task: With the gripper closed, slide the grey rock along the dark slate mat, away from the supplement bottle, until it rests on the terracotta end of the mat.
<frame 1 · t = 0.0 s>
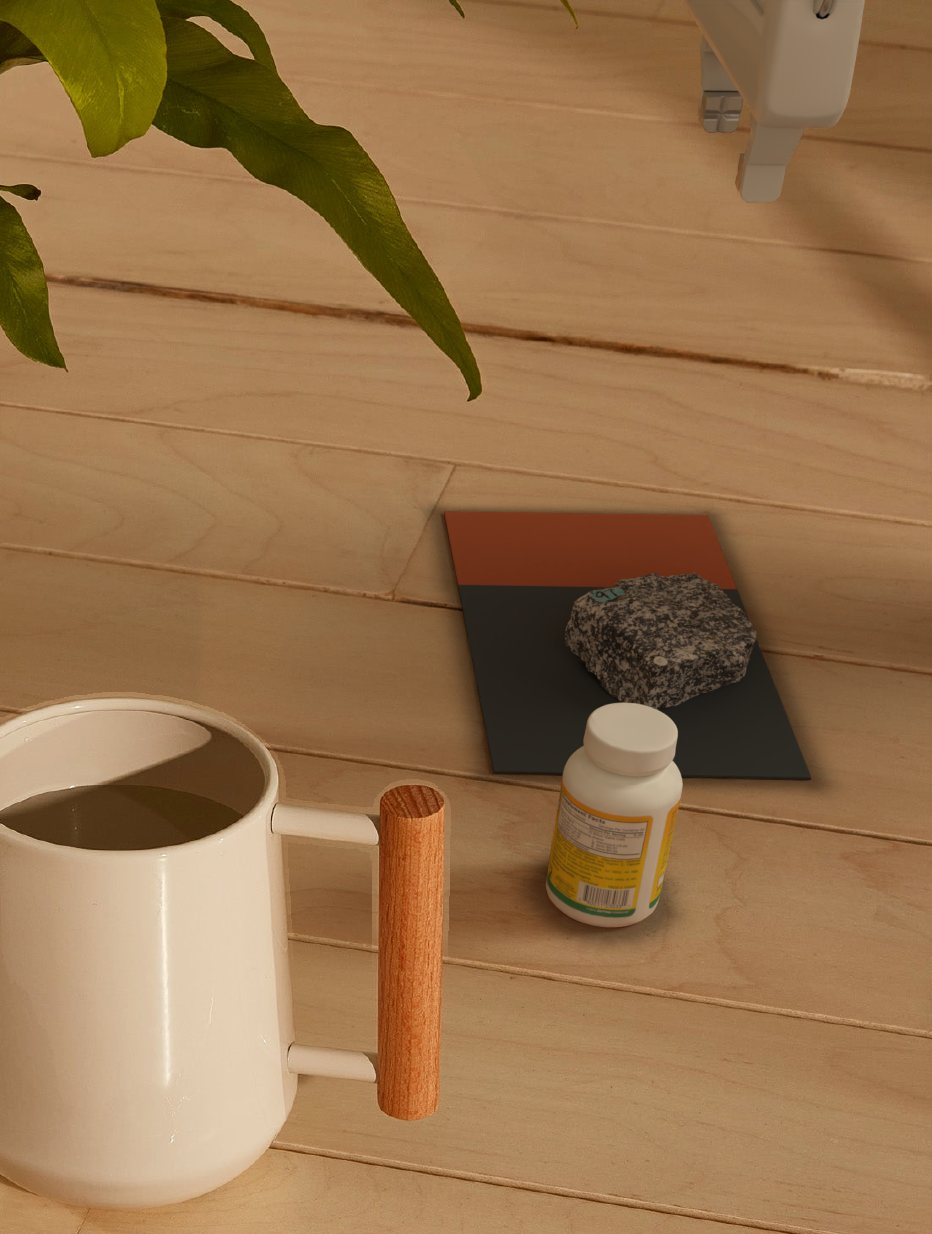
hand: (735, 161, 103), 27 cm above the table, tool pointing down, fingers open, 8 cm apart
supplement bottle: (601, 898, 102), on the table
mat: (610, 633, 121), on the table
rock: (655, 663, 119), resting on mat
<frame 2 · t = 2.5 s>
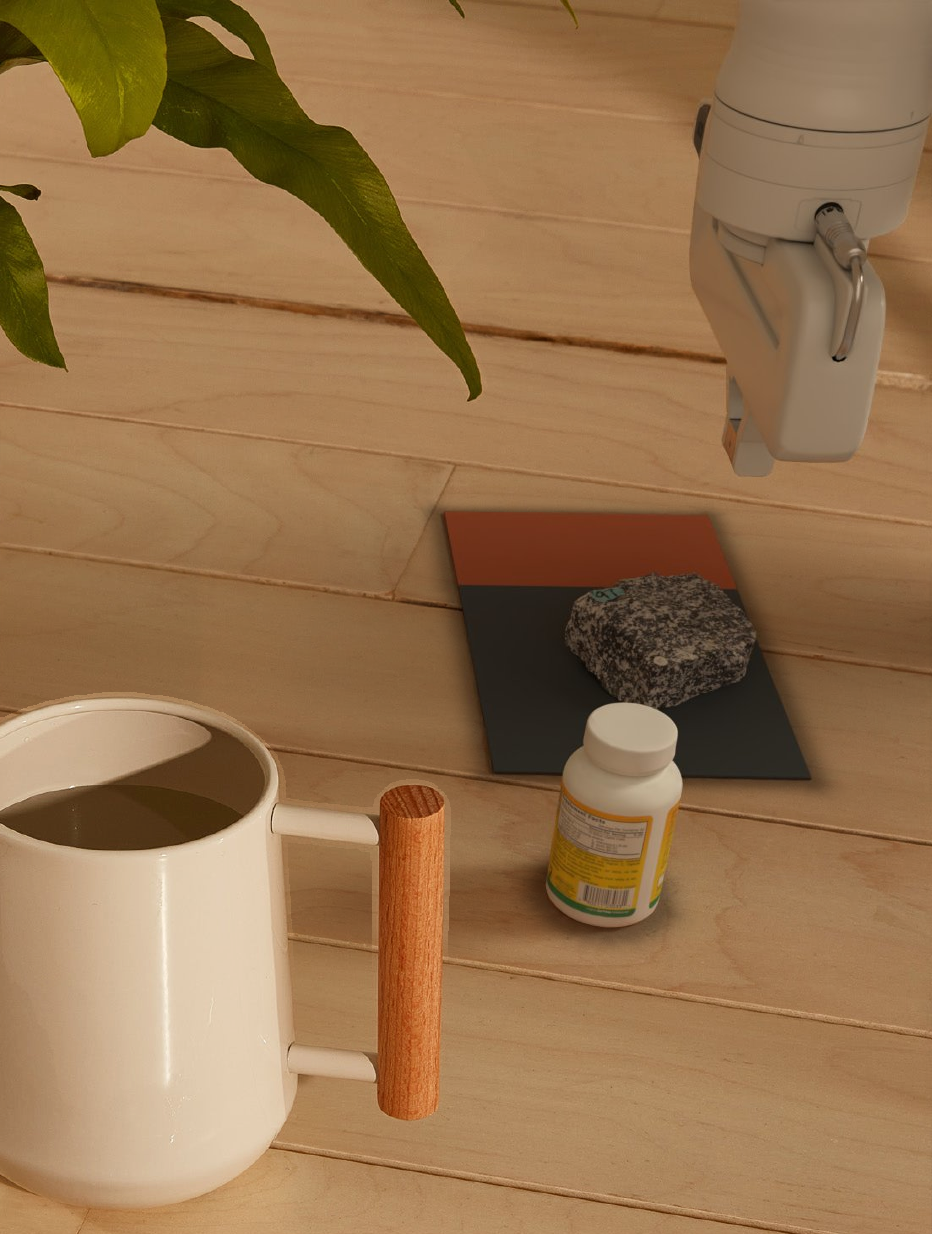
hand: (745, 462, 100), 17 cm above the table, tool pointing down, fingers closed
nothing on the table moved.
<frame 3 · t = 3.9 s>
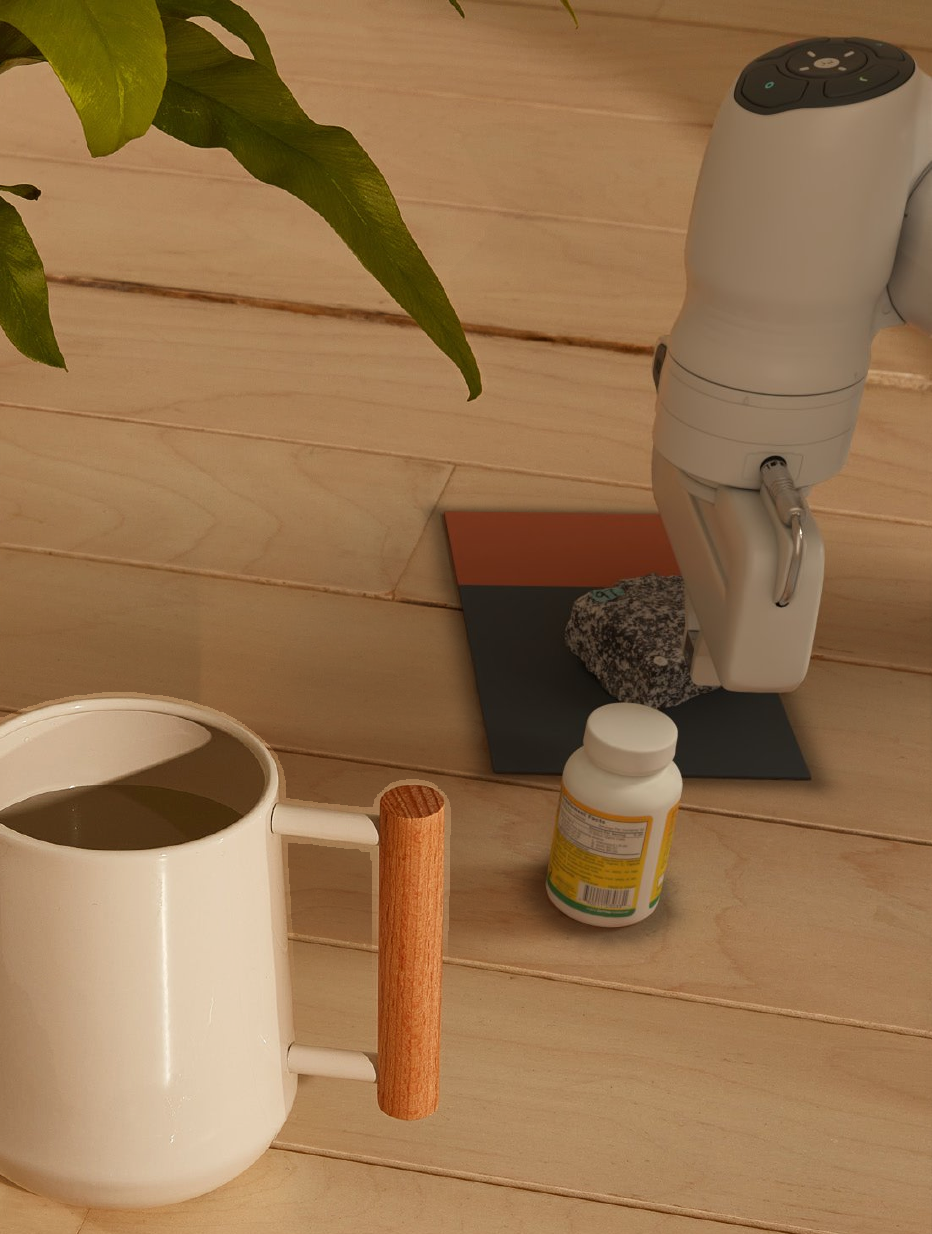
hand: (702, 670, 107), 6 cm above the table, tool pointing down, fingers closed
nothing on the table moved.
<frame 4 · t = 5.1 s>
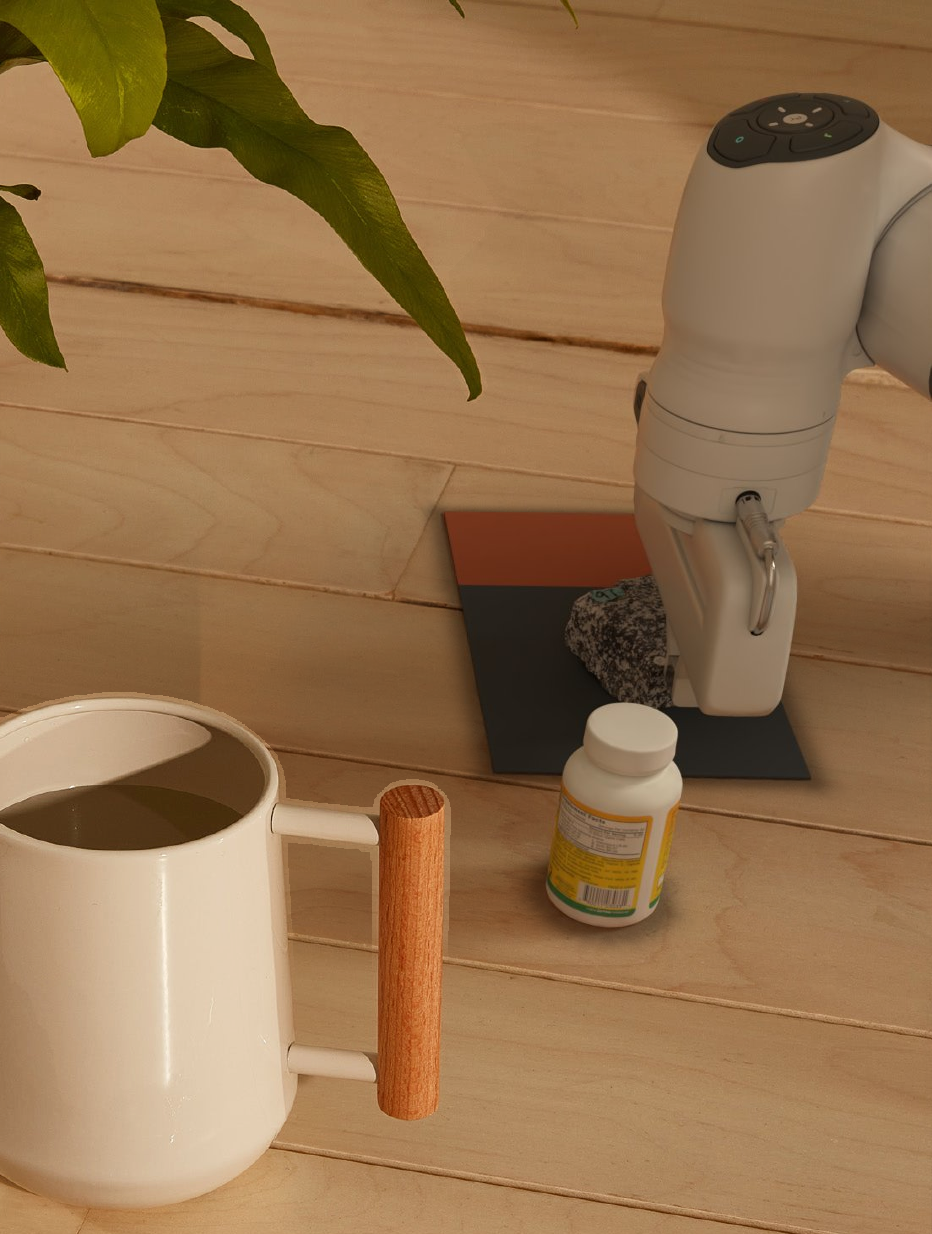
hand: (683, 693, 112), 2 cm above the table, tool pointing down, fingers closed
rock: (655, 663, 119), resting on mat, touching gripper
everything else where it was.
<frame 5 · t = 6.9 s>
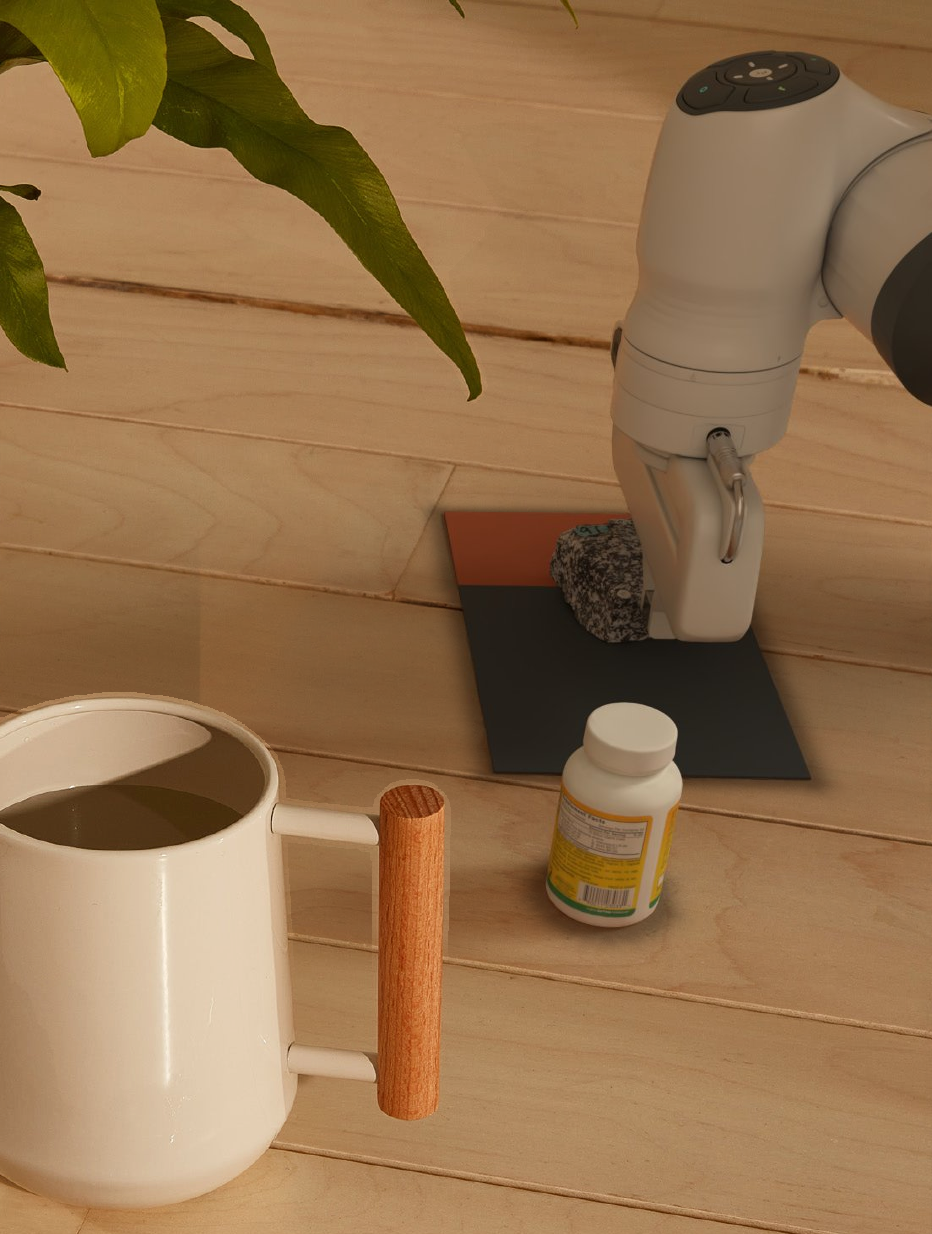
hand: (659, 626, 118), 2 cm above the table, tool pointing down, fingers closed
rock: (636, 602, 124), resting on mat, touching gripper
everything else where it was.
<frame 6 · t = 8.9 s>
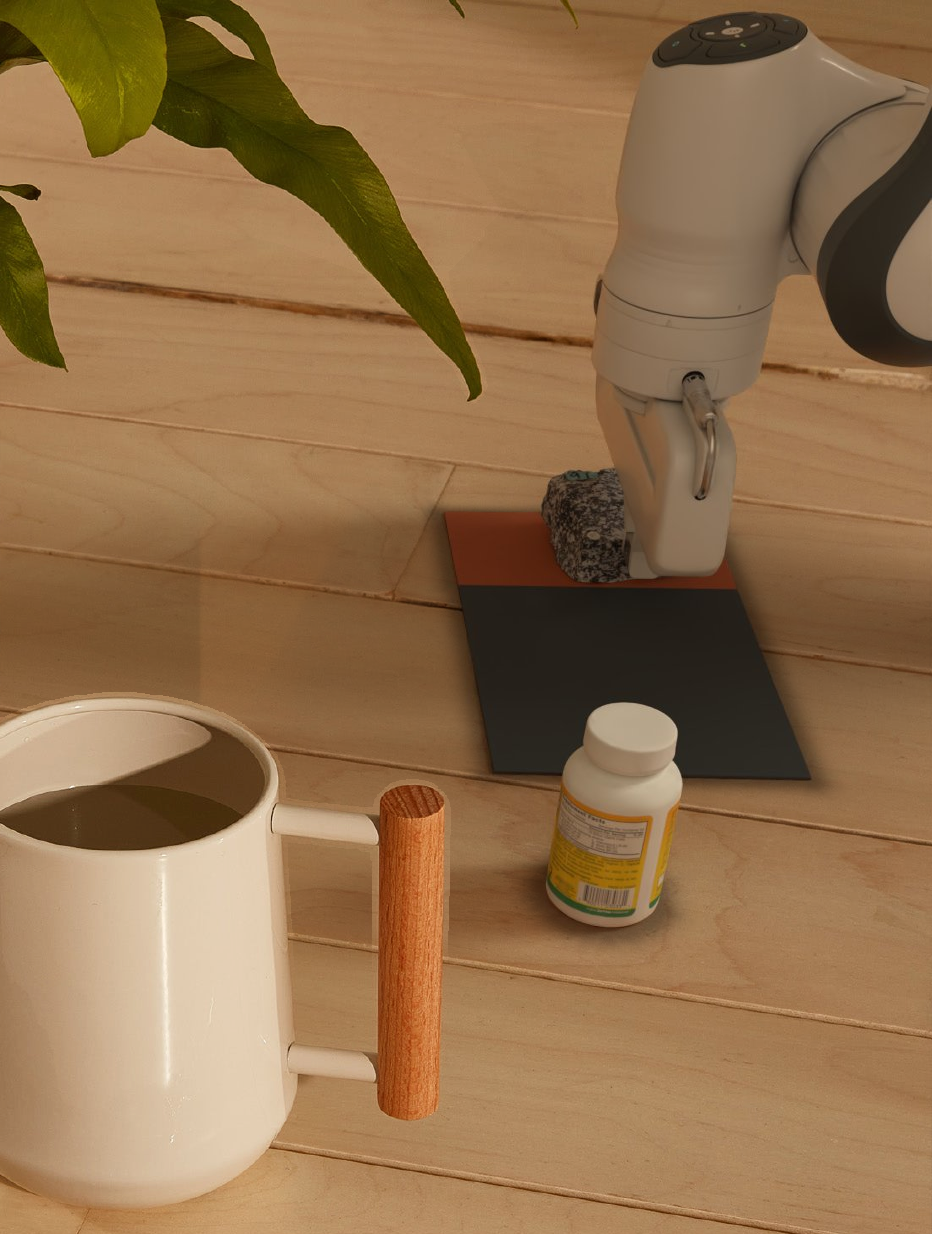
hand: (639, 567, 123), 2 cm above the table, tool pointing down, fingers closed
rock: (623, 549, 129), resting on mat, touching gripper
everything else where it was.
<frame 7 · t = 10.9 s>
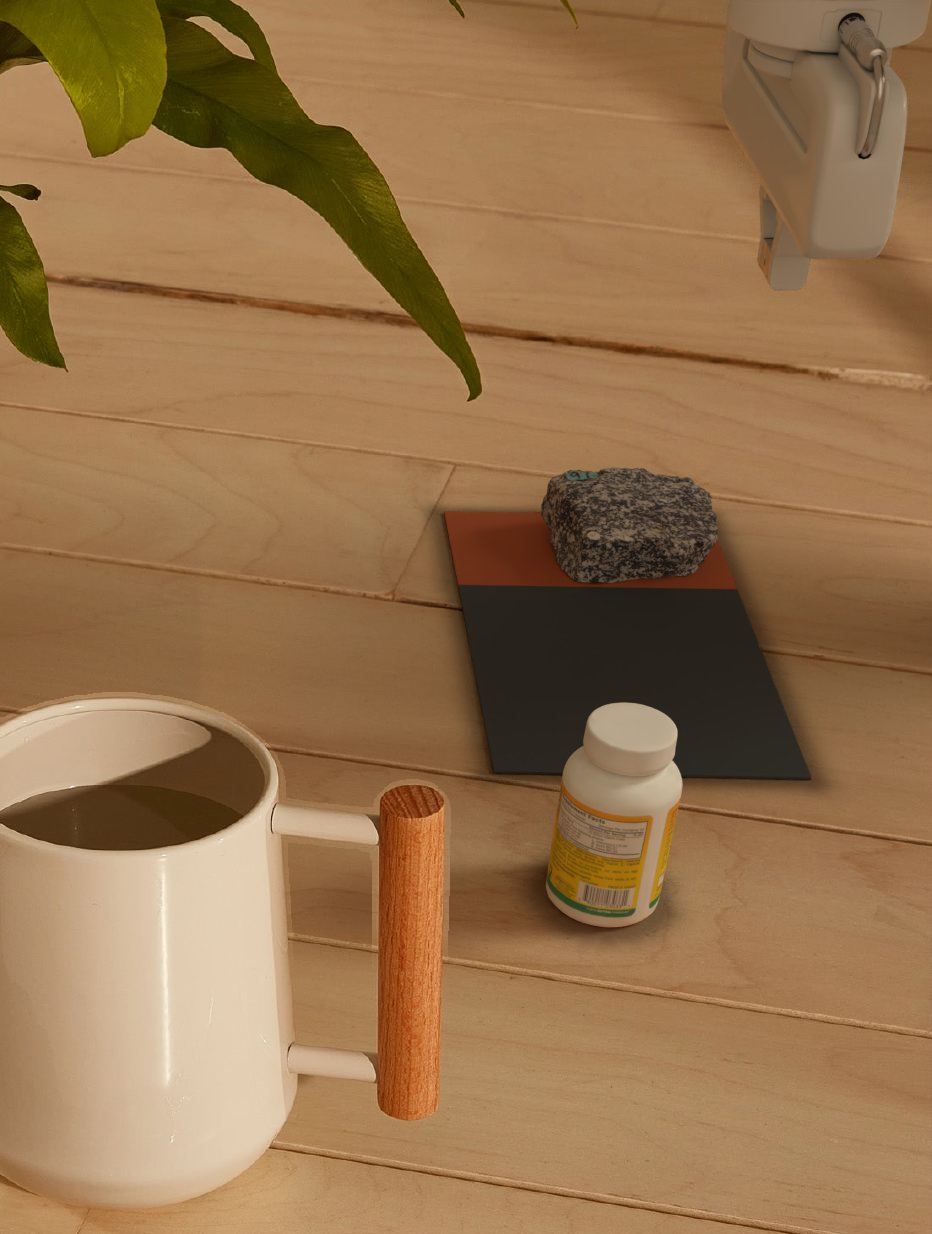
hand: (779, 279, 106), 22 cm above the table, tool pointing down, fingers closed
rock: (623, 549, 129), resting on mat
everything else where it was.
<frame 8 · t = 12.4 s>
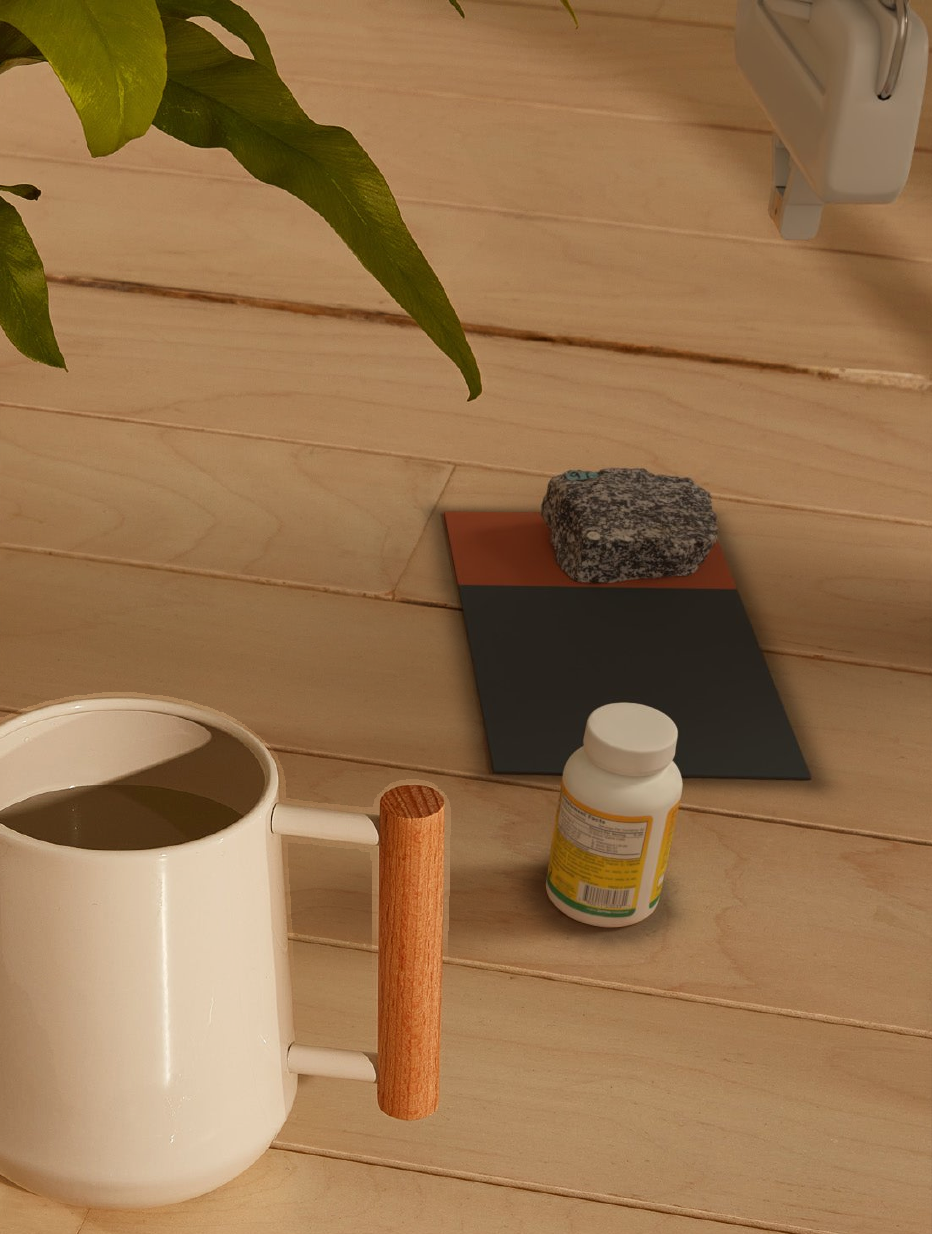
hand: (790, 229, 105), 24 cm above the table, tool pointing down, fingers closed
nothing on the table moved.
at the end: rock inside the target area on the mat (2.2 cm from its centre), point 0.0 cm above the mat's base; rock moved 12.8 cm from its start; supplement bottle moved 0.2 cm from its start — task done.
